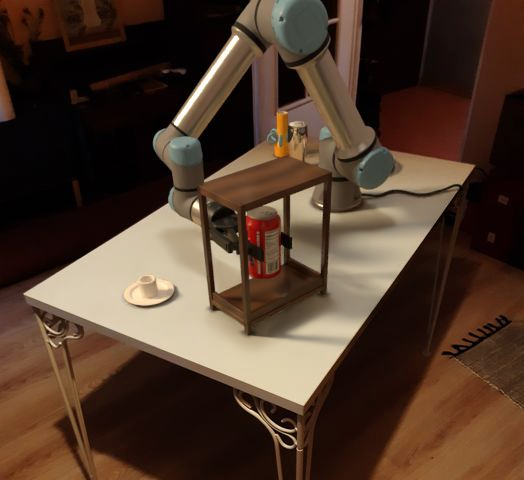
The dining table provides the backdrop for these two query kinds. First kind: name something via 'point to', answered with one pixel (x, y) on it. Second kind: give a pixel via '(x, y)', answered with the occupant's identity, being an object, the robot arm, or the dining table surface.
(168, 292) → the candle holder
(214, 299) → the shelf stand
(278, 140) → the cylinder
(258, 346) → the dining table surface
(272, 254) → the soda can
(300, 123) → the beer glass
